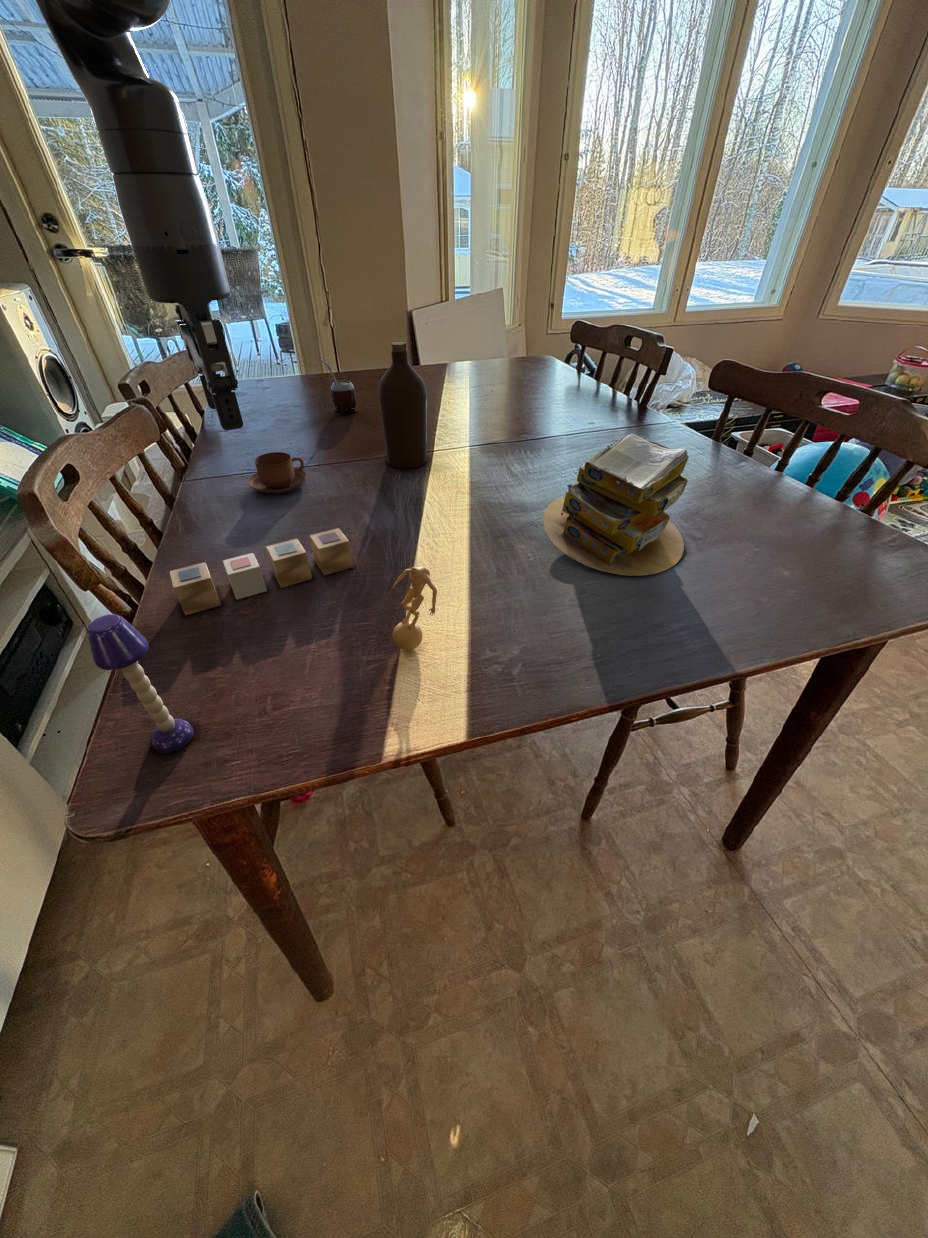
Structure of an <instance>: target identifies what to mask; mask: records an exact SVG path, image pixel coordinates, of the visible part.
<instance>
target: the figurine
mask: <svg viewBox="0 0 928 1238" xmlns="http://www.w3.org/2000/svg"><path fill="white" fill-rule="evenodd" d="M406 574H408V575H409V582H410V587H409V588H408V589H407V593H406V595H405V597H404V599H403V600H402V601H401V606H402V608H403V609H405V610H406V611H408V612H407V615H405V618H403V619H402V620H401V622H399V623H397V624H396V626H395V627H394V629H393V631H392V641H393V643H394V644H395V646H396V647H397V648H399V649H401V651H402V650H403V651H413V650H416V648H417V649H418V647H419V646H420V645H421V644H422V641H423V636H424V635H423V630H422V628H421V626H420V625H419V624H418V623H417V622H418V619H419V616H420V611H419V608H420V606H421V605H422V603H423V602H424V600H425V596H424V595H423V594H422V593H423V590H424V588H425V587H426V585H427V586H428V587H429V589H430V590H431V591H432V598H431V608H429V610H428V612H429V616H434V615H435V613H436V603H437V595H438V590H437V587H436V586H435V585H434V583H433V581H432V580H431V578H430V576H431V572H430V569H429V568H428V567H427V566H423V565H421V566H418V567H416V566H412V567H411V568H405V569H404V570H403V571H402V573H401V574H400V575H399V576H398V577H397V578H396V580H395V582H394V584H393V586H392V589H394V588H395V587H396V585H397V584H398V583H399V582H400V581H401V580H402V579H403V578H405V576H406ZM410 603H411V604H410ZM412 615H413V616H414V618H413V620H410V618H411V616H412Z"/></svg>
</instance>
